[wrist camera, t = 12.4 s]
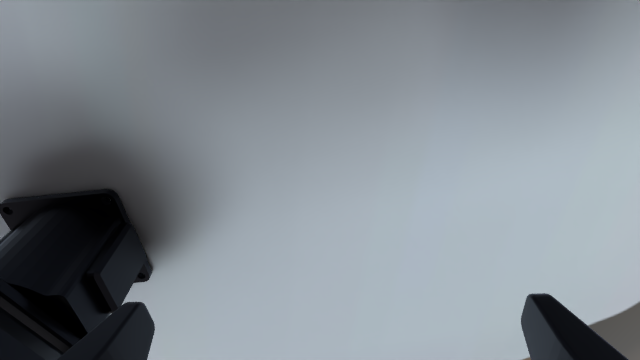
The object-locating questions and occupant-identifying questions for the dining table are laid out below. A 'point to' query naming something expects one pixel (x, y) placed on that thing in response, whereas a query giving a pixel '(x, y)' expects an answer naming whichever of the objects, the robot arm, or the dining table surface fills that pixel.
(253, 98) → the dining table surface
